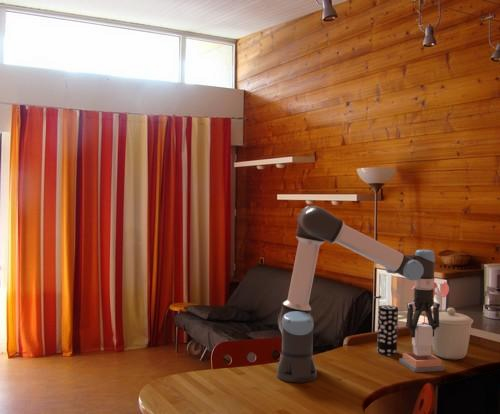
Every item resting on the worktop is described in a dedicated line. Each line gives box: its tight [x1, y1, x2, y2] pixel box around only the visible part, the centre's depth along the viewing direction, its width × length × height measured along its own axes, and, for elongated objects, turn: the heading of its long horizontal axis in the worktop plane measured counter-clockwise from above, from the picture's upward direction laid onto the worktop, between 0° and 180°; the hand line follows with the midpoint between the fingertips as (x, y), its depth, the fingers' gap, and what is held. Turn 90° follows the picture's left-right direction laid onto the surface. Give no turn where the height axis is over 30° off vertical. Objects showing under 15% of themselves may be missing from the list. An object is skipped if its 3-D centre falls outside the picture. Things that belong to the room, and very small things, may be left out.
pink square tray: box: [398, 351, 445, 373], centre depth 231 cm, size 13×13×4 cm
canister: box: [431, 307, 474, 360], centre depth 245 cm, size 18×18×21 cm
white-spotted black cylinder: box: [376, 304, 399, 357], centre depth 248 cm, size 8×8×20 cm
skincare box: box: [412, 323, 432, 356], centre depth 231 cm, size 6×4×12 cm
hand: (422, 344), depth 231 cm, fingers closed on skincare box, 6 cm apart
